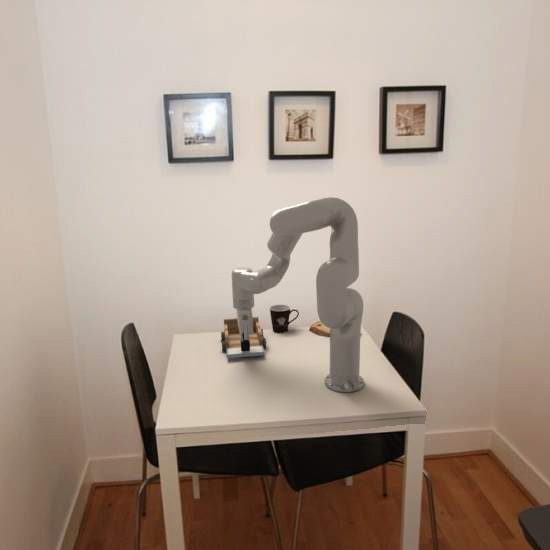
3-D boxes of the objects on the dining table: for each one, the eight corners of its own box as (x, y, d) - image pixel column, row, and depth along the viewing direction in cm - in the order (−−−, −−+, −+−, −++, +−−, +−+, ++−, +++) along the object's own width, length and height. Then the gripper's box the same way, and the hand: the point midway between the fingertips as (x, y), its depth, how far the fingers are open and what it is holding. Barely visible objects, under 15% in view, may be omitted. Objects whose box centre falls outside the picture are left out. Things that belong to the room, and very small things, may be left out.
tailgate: (262, 348, 178) (264, 355, 172) (226, 351, 176) (227, 357, 170) (262, 345, 177) (264, 351, 172) (226, 348, 176) (227, 354, 170)
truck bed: (266, 350, 179) (266, 330, 177) (222, 353, 177) (221, 333, 175) (262, 334, 195) (261, 316, 193) (221, 337, 193) (220, 319, 191)
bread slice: (364, 336, 191) (364, 328, 190) (323, 343, 185) (323, 334, 184) (343, 322, 208) (343, 314, 207) (305, 328, 202) (305, 320, 201)
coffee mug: (267, 333, 196) (266, 310, 194) (273, 325, 204) (273, 304, 202) (294, 335, 193) (294, 312, 191) (299, 328, 201) (299, 305, 199)
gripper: (256, 308, 160) (257, 358, 165) (252, 295, 175) (253, 341, 179) (234, 309, 159) (236, 359, 164) (231, 297, 174) (234, 343, 178)
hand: (245, 350), depth 172 cm, fingers closed
